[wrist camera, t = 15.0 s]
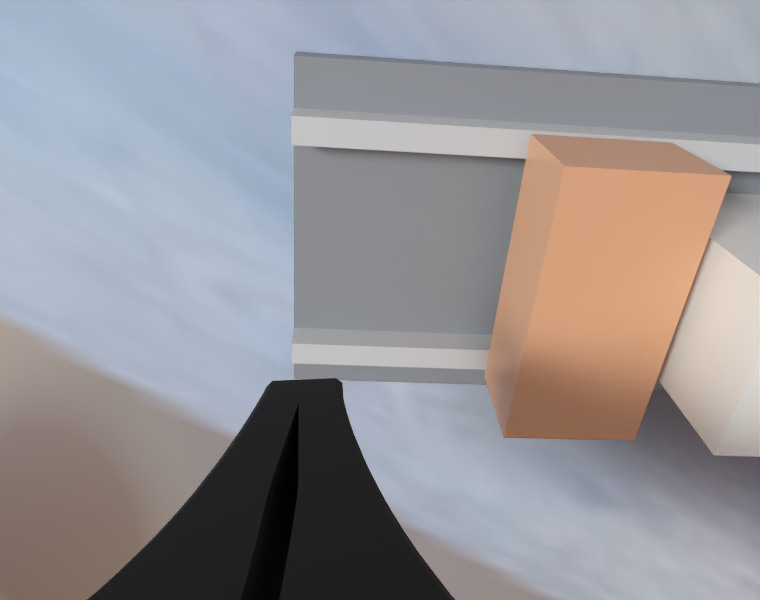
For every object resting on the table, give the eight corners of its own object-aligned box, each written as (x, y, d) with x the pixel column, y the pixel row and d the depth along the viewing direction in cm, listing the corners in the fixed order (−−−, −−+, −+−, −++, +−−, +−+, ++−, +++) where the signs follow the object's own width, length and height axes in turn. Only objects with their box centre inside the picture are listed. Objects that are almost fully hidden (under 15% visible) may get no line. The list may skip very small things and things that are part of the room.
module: (781, 196, 19) (985, 305, 13) (730, 316, 21) (883, 459, 15) (645, 188, 19) (787, 297, 13) (608, 312, 21) (713, 455, 15)
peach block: (671, 142, 17) (731, 175, 14) (598, 380, 21) (634, 440, 18) (530, 133, 16) (565, 166, 14) (484, 376, 20) (503, 437, 18)
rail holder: (946, 96, 18) (1193, 151, 13) (799, 382, 24) (931, 504, 18) (296, 51, 17) (270, 92, 12) (295, 365, 22) (278, 493, 17)
